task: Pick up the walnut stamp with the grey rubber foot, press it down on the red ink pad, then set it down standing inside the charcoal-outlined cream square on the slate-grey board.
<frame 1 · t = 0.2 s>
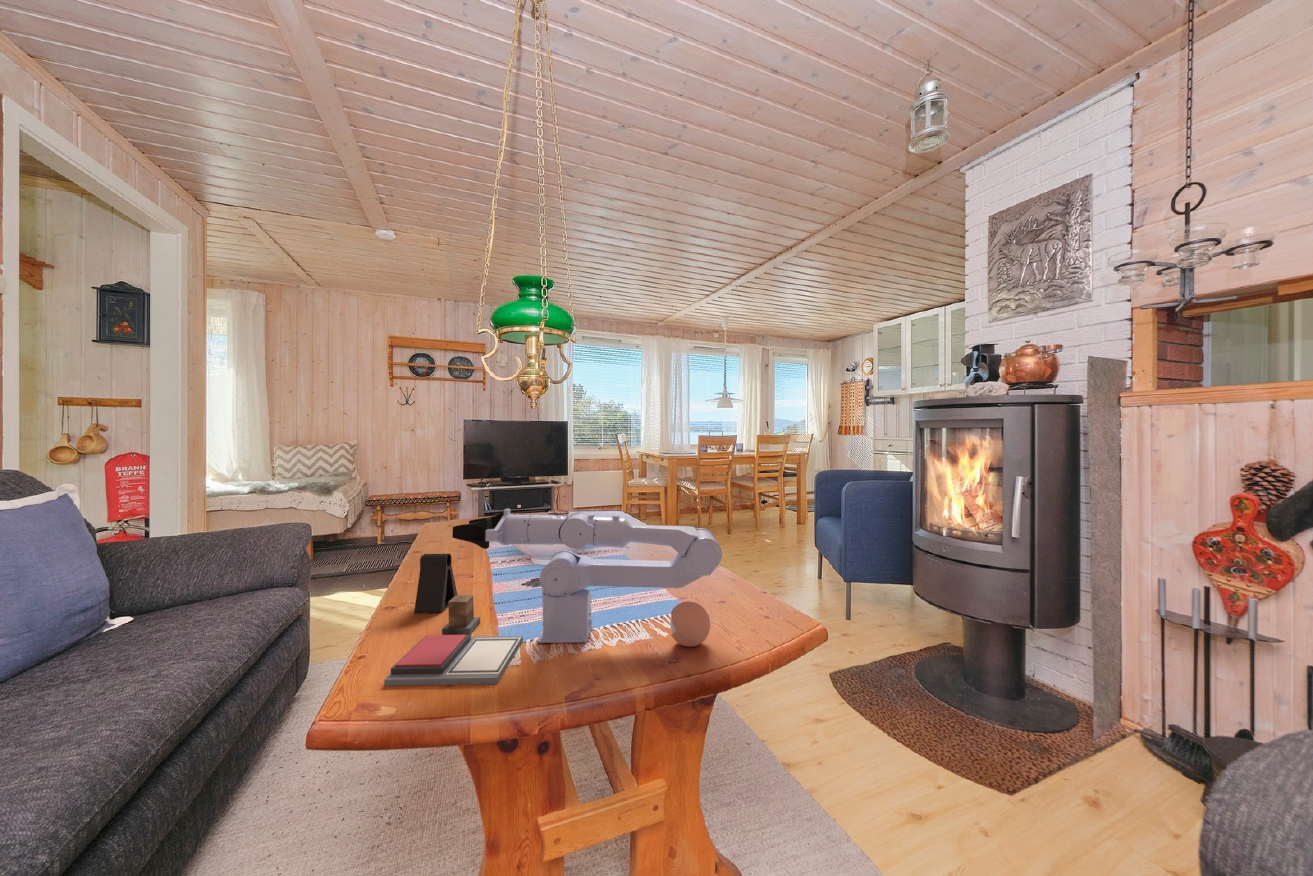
hand: (461, 528, 92), 21 cm above the table, tool horizontal, fingers open, 7 cm apart
stamp board: (460, 661, 82), on the table
phone stand: (437, 606, 108), on the table
stamp: (461, 630, 95), on the table
toy ball: (689, 645, 88), on the table
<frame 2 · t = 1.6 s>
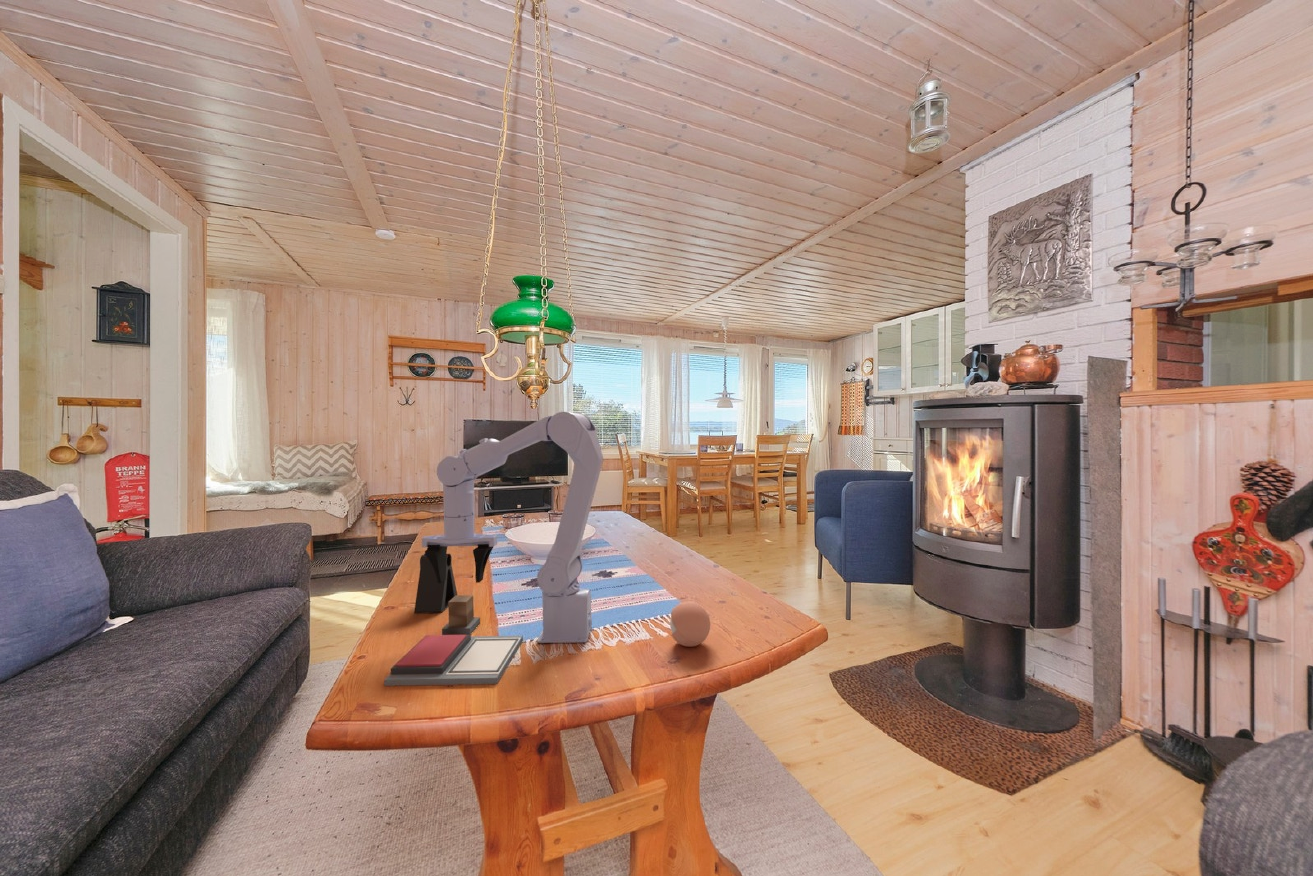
hand: (460, 581, 95), 10 cm above the table, tool pointing down, fingers open, 7 cm apart
nothing on the table moved.
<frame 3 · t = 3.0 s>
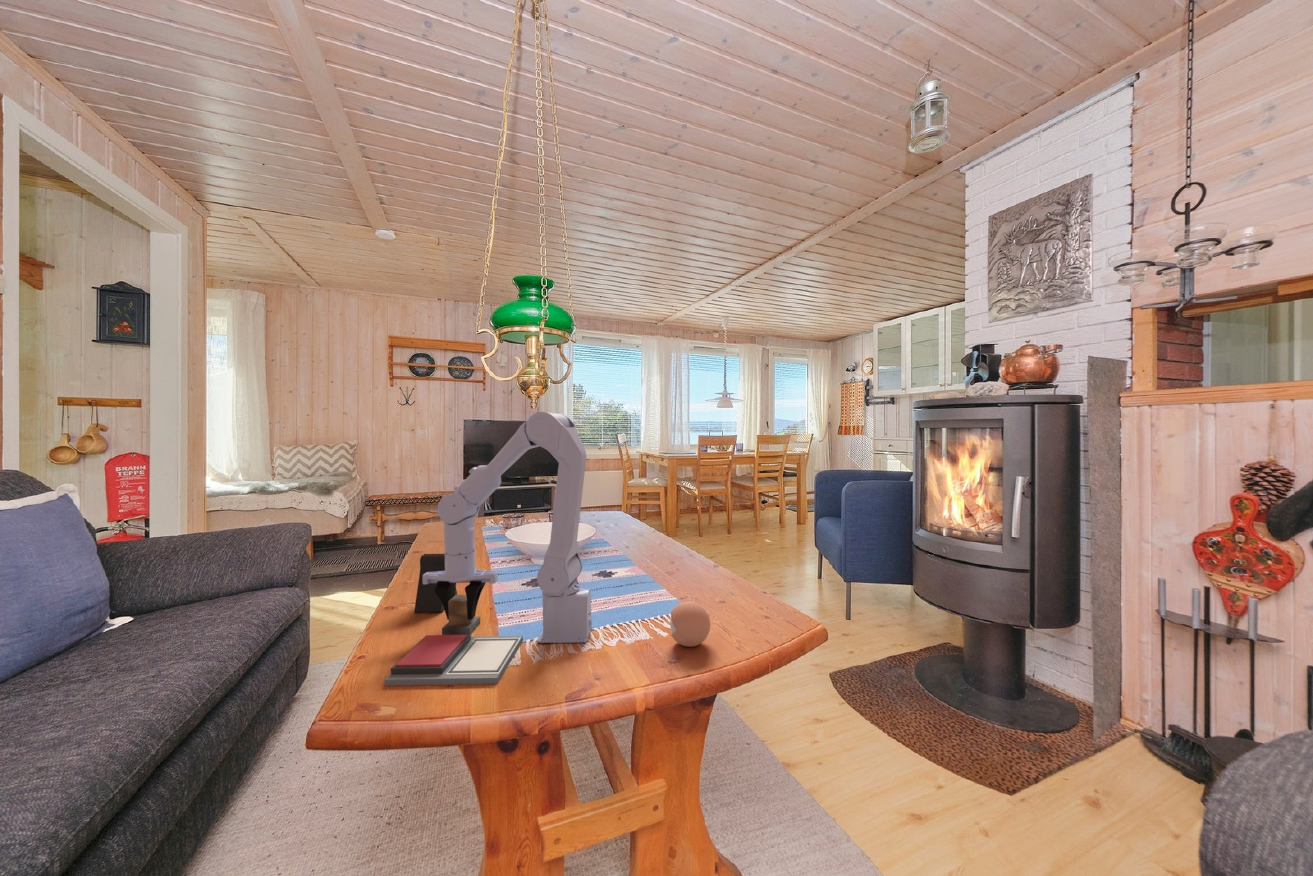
hand: (461, 617, 95), 2 cm above the table, tool pointing down, fingers closed on stamp, 4 cm apart
stamp: (461, 629, 95), on the table, touching gripper
everything else where it was.
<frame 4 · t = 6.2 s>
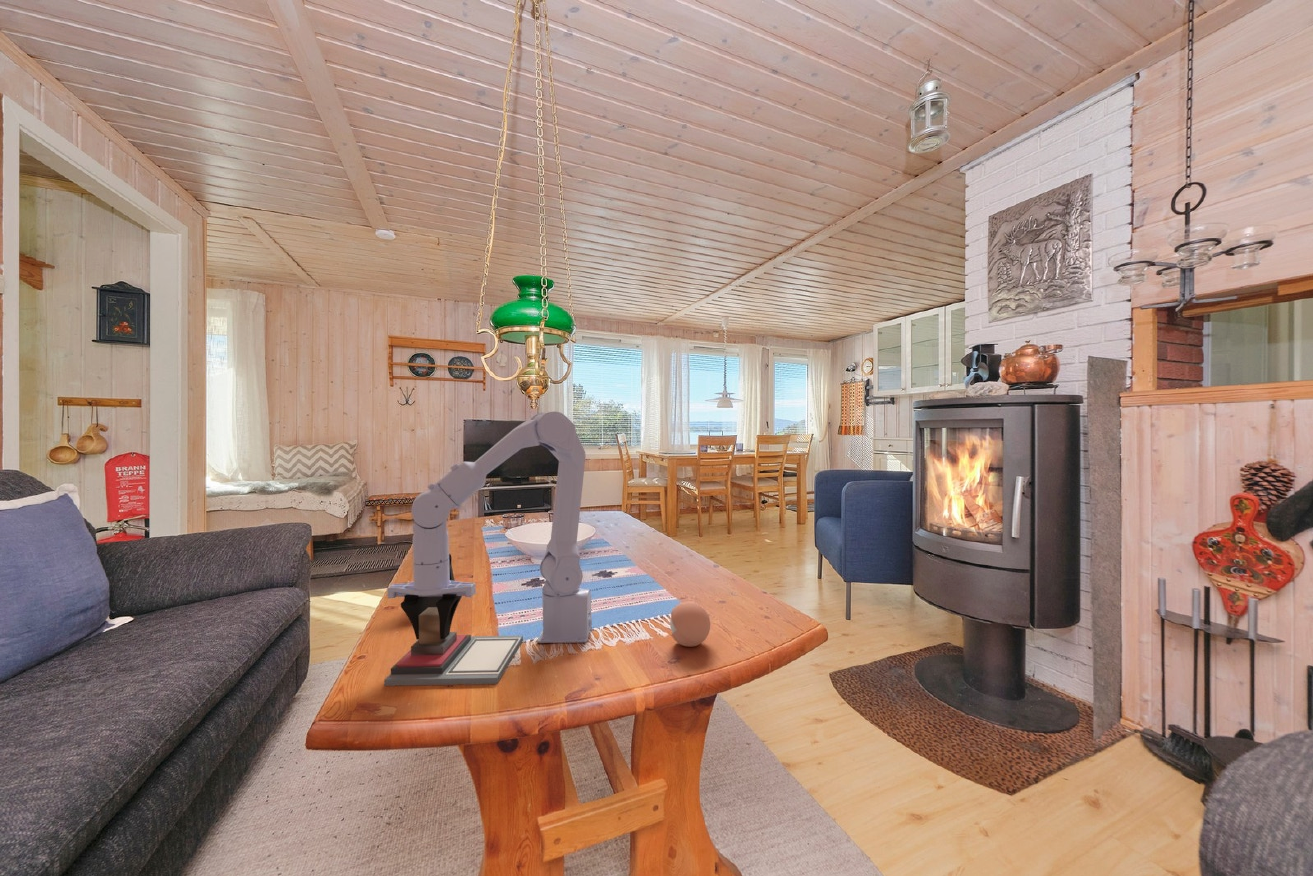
hand: (433, 636, 82), 4 cm above the table, tool pointing down, fingers closed on stamp, 4 cm apart
stamp: (434, 647, 83), point 2 cm above the table, touching gripper, stamp board
everything else where it was.
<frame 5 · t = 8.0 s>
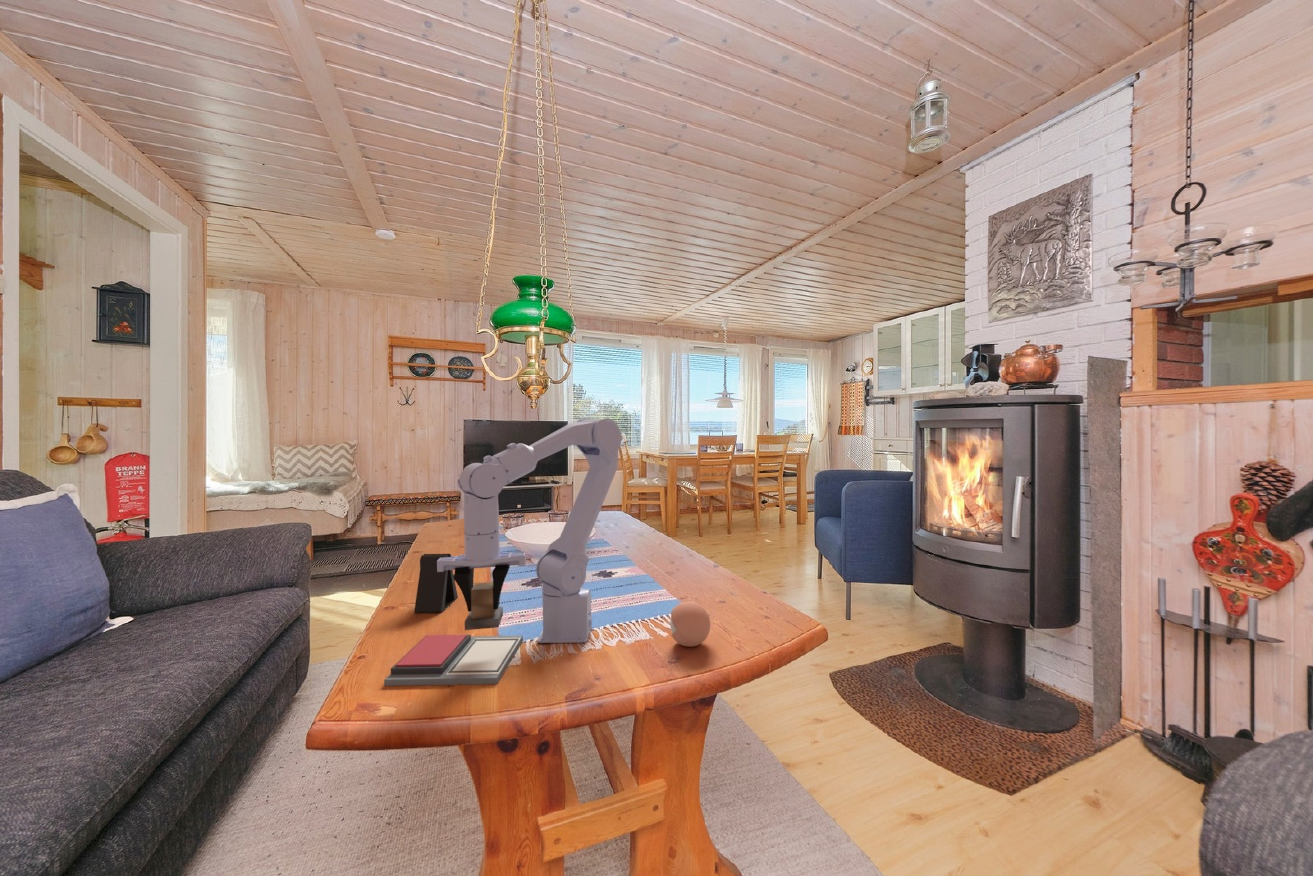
hand: (483, 608, 82), 9 cm above the table, tool pointing down, fingers closed on stamp, 4 cm apart
stamp: (484, 622, 83), point 7 cm above the table, touching gripper
everything else where it was.
when the fingers open (5 cm above the table, at t = 9.3 s): stamp stays where it is, resting on stamp board.
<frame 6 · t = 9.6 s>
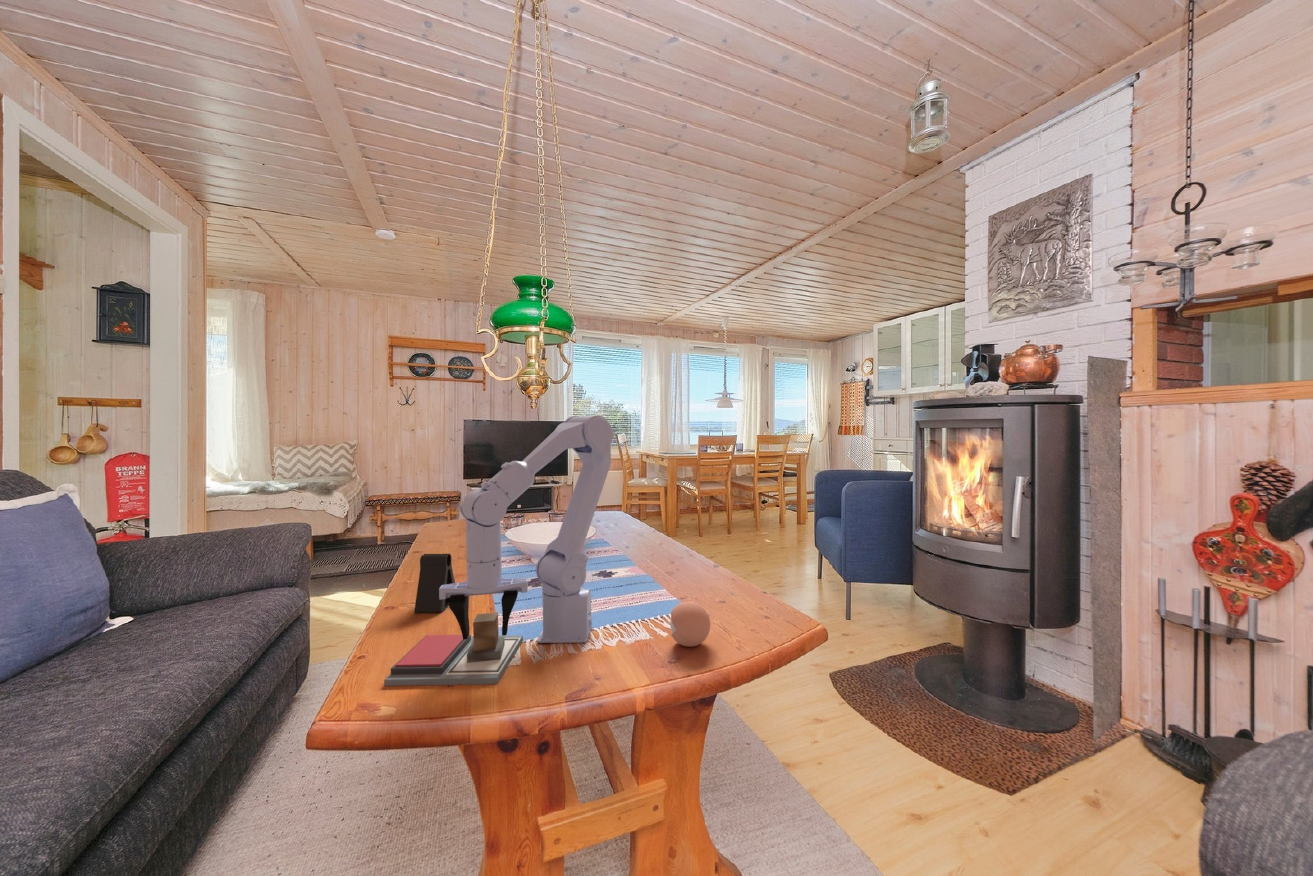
hand: (485, 635, 82), 5 cm above the table, tool pointing down, fingers open, 6 cm apart
stamp: (486, 653, 83), point 1 cm above the table, touching stamp board
everything else where it was.
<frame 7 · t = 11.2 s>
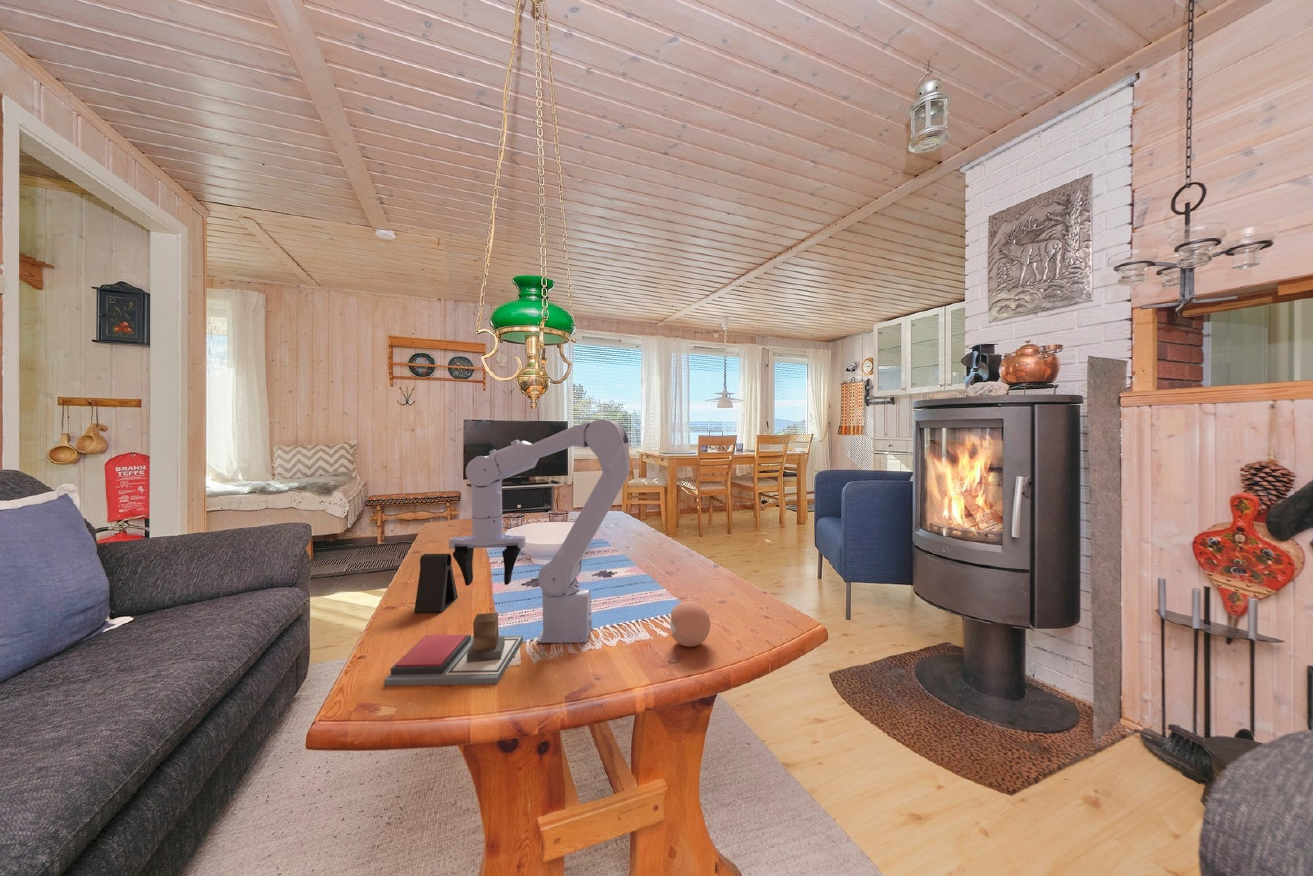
hand: (488, 583, 93), 10 cm above the table, tool pointing down, fingers open, 7 cm apart
nothing on the table moved.
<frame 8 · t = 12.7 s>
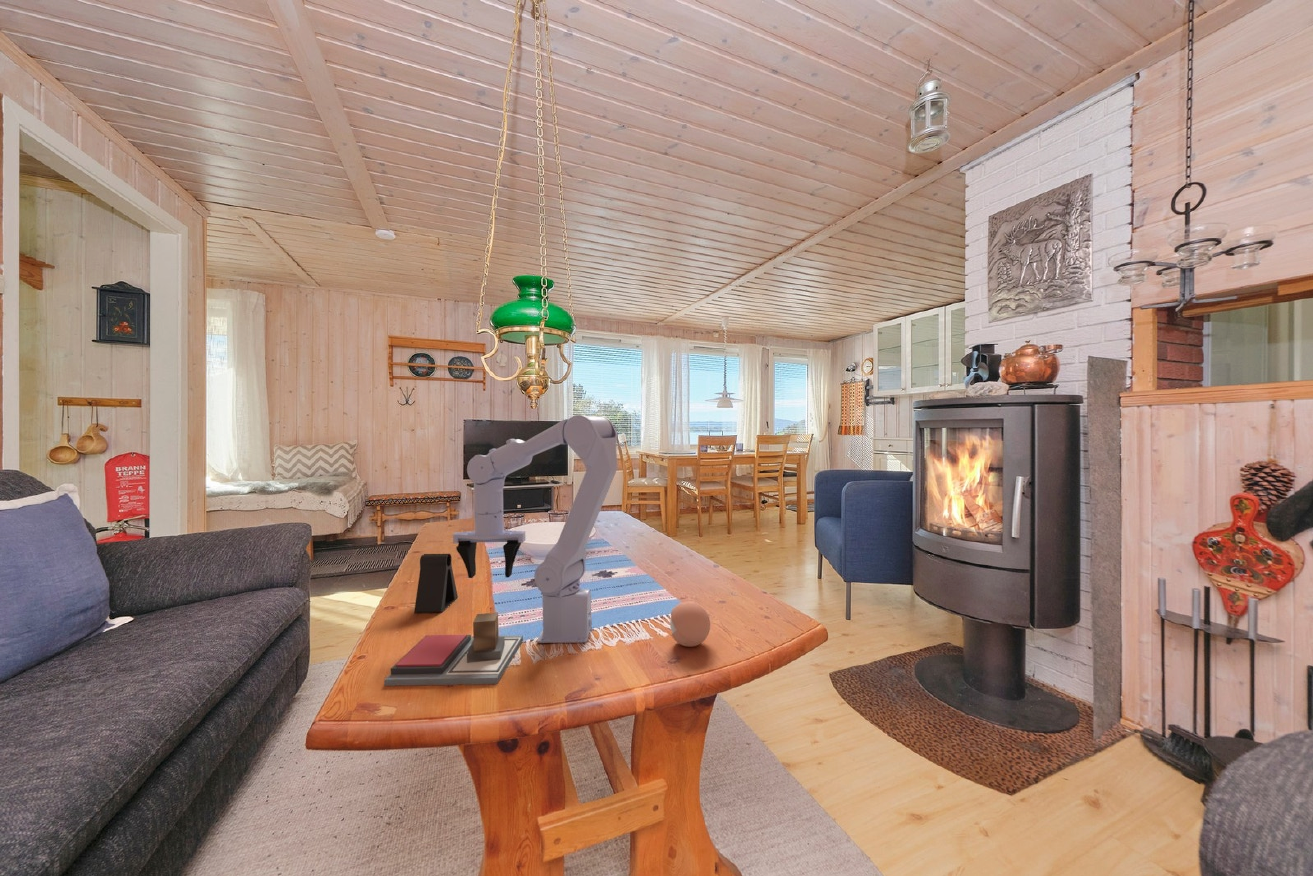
hand: (490, 576, 98), 10 cm above the table, tool pointing down, fingers open, 7 cm apart
nothing on the table moved.
at the end: stamp 0.4 cm from the target spot on the stamp board, point 1.1 cm above the stamp board's base; stamp tilted 0°; the gripper is holding nothing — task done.
